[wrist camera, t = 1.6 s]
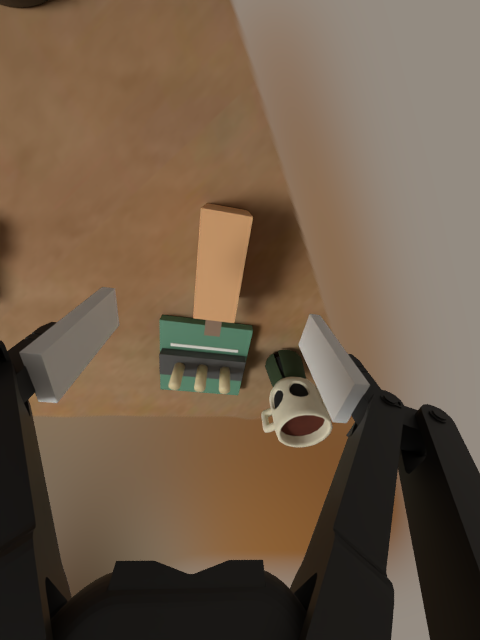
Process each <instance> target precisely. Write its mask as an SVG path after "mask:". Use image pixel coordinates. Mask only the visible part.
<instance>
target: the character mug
mask: <svg viewBox="0 0 480 640" xmlns="http://www.w3.org/2000/svg"><path fill="white" fill-rule="evenodd" d="M278 353H279V357H277V358H275V357H274V355H273V354H271V355H270V357H269V358H268V359H267V361H266V365H265V367H266V370H267V373H268V376H269V379H270V381H271V384H272V386H273V389H272V390H271V392H270V398H269V401H270V406H271V408H269V409H267V410H264V411H263V412H262V414H261V416H262V423H263V430H264V432H271V431H274V430H275V432H276V434H277V437H278V439H279V441H280V442H282V443H283V444H285V445H287V446H292V447H307V446H311V445H315V444H317V443H319V442H321V441H323V440H324V439H325V438H326V437H327V436H328V435H329V434H330V432H331V430H332V423H331V419H330V416H329V414H328V412H327V408H326V406H325V403H324V402H323V401H322V398H321V396H320V395H321V394H320V392H319V390H318V388H317V387H316V386H315V385H314V384H313V383H311V382H310V381H309V380H308V379H306V376H305V371H304V367H303V363H302V360H301V357H300V356H299V355H298V354H297V353H296V352H294V351H291V350H279V351H278ZM271 415H272V416H273V421H274V422H273V423H270V424H269V421H268V417H269V416H271Z"/></svg>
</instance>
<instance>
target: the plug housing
mask: <svg viewBox="0 0 480 640" xmlns="http://www.w3.org/2000/svg"><path fill="white" fill-rule="evenodd" d="M252 221H253V216H252V215H251V214H250V213H249V211H248V210H243V209H238V208H232V207H226V206H221V205H215V204H210V203H207V204H205V205H204V206H203V207H201V215H200V229H199V243H198V257H197V271H196V285H195V299H194V313H193V318H195V319H203V320H206V321H205V331H204V335H207V336H216V337H220V332H221V325H222V322H229V323H234V322H235V316H236V311H237V305H238V299H239V294H240V288H241V282H242V277H243V271H244V266H245V260H246V254H247V249H248V243H249V237H250V232H251V226H252Z"/></svg>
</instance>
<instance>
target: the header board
mask: <svg viewBox="0 0 480 640" xmlns="http://www.w3.org/2000/svg"><path fill="white" fill-rule="evenodd" d="M205 321H206V320H202V319H193V318H185V317H176V316H168V315H162V316H161V318H160V354H159V358H160V385H161V389H166V390H179V391H191V392H204V393H216V394H229V395H238V393H239V389H240V385H241V381H242V377H243V372H244V368H245V364H246V359H247V354H248V350H249V346H250V341H251V337H252V333H253V328H252V325H244V324H236V323H227V322H222V325H221V332H220V337H216V336H207V335H204V331H205Z"/></svg>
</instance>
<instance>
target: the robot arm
mask: <svg viewBox="0 0 480 640" xmlns="http://www.w3.org/2000/svg"><path fill="white" fill-rule="evenodd" d="M45 1H47V0H0V4H2V5H6V6H11V7H30V6H35V5H38V4H41V3H43V2H45ZM118 326H119V319H118V310H117V302H116V293H115V288H107V287H102V288H100V289H99V290H98V291H96V292H95V293H94V294H93V295H91V296H90V297H89V298H88V299H86V300H85V301H84V302H83V303H81V304H80V305H79V306H77V307H76V308H75V309H74V310H72V311H71V312H70V313H69V314H67V315H66V316H65V317H64V318H62V319H61V320H60V321H58V322H57V323H56V322H51V323H48V324H46V325H43V326H41V327H39V328H38V329H37V330H35V331H34V332H33V333H32V334H30V335H29V336H27V337H26V338H25V339H23V340H22V341H20V342H19V343H18V344H16V345H15V346H14V347H12V348H11V349H10V350H8V351H7V350H6V347H5V345H4V343H3V342H2V341H0V640H391V632H392V621H393V609H394V589H393V585H392V583H391V581H390V580H389V579H388V578H387V574H386V566H387V557H388V549H389V539H390V531H391V522H392V513H393V505H394V496H395V487H396V479H397V470H399V475H400V481H401V486H402V491H403V497H404V502H405V508H406V513H407V518H408V523H409V529H410V534H411V540H412V545H413V550H414V555H415V561H416V566H417V572H418V577H419V582H420V588H421V593H422V598H423V603H424V609H425V614H426V619H427V625H428V630H429V635H430V640H480V473H479V471H478V469H477V467H476V465H475V463H474V461H473V459H472V457H471V455H470V453H469V451H468V449H467V447H466V445H465V443H464V441H463V439H462V437H461V435H460V433H459V431H458V429H457V427H456V425H455V423H454V421H453V420H452V418H451V417H450V416H448V415H447V414H446V413H445V412H444V411H442V410H441V409H439V408H437V407H434V406H431V405H428V404H427V405H422V406H421V407H420V409H419V410H415V409H412V408H409V407H406V406H404V405H403V403H402V402H401V400H400V399H398V398H397V397H396V396H395V395H393V394H391V393H390V392H387V391H384V390H381V389H380V387H379V386H378V385H377V383H376V382H375V381H374V379H373V378H372V377H371V375H370V374H369V373H368V371H367V370H366V369H365V368H364V366H363V365H362V363H361V362H360V361H359V360H358V359H357V358H356V357H354V356H353V355H352V354H347V352H346V351H345V349H344V348H343V347H342V345H341V344H340V342H339V341H338V340H337V338H336V337H335V335H334V334H333V333H332V331H331V330H330V328H329V327H328V326H327V324H326V323H325V321H324V320H323V319H322V317H321V316H320V315H315V314H310V315H309V317H308V320H307V323H306V326H305V328H304V331H303V334H302V337H301V339H300V342H299V347H300V350H301V352H302V354H303V356H304V359H305V361H306V363H307V365H308V368H309V370H310V372H311V374H312V377H313V379H314V381H315V383H316V385H317V388H318V390H319V392H320V394H321V397H322V399H323V401H324V403H325V406H326V408H327V410H328V412H329V415H330V417H331V419H332V421H333V422H339V423H347V422H348V420H349V418H350V417H351V415H352V417H353V419H354V421H355V423H354V425H353V426H352V428H351V429H350V431H349V432H348V434H347V436H348V439H347V442H346V445H345V448H344V451H343V453H342V456H341V459H340V461H339V464H338V467H337V470H336V472H335V475H334V478H333V481H332V484H331V486H330V489H329V491H328V494H327V497H326V500H325V502H324V505H323V508H322V511H321V513H320V516H319V519H318V522H317V525H316V527H315V530H314V533H313V535H312V538H311V541H310V544H309V546H308V549H307V552H306V555H305V557H304V560H303V562H302V564H301V566H300V568H299V570H298V572H297V574H296V576H295V578H294V580H293V582H292V585H291V587H290V589H289V588H288V587H287V586H286V585H285V584H284V583H283V582H282V581H281V580H279V579H278V578H277V577H276V576H274V575H272V574H271V573H269V572H267V571H264V565H263V560H229V561H226V562H223V563H221V564H218V565H216V566H214V567H210V568H208V569H205V570H203V571H200V572H198V573H195V574H187V573H184V572H182V571H179V570H177V569H174V568H171V567H169V566H166V565H164V564H161V563H158V562H156V561H116V563H115V567H114V570H113V572H112V573H109V574H106V575H105V576H103V577H101V578H99V579H97V580H95V581H94V582H92V583H90V584H89V585H87V586H86V587H84V589H82V590H81V591H79V592H78V593H77V594H76V595H75V596H73V597H72V598H71V593H70V589H69V585H68V581H67V578H66V575H65V572H64V569H63V566H62V562H61V558H60V553H59V548H58V543H57V537H56V533H55V528H54V523H53V518H52V512H51V507H50V502H49V497H48V492H47V487H46V483H45V477H44V472H43V467H42V462H41V457H40V452H39V446H38V441H37V436H36V431H35V426H34V421H33V416H32V411H31V406H30V403H29V401H28V399H29V398H30V397H31V396H32V395H33V394H34V393H35V394H36V396H37V399H38V401H39V402H53V403H58V401H59V400H60V399H61V398H62V396H63V395H64V394H65V393H66V391H67V390H68V389H69V388H70V386H71V385H72V384H73V383H74V381H75V380H76V379H77V378H78V376H79V375H80V374H81V372H82V371H83V370H84V369H85V367H86V366H87V365H88V364H89V362H90V361H91V360H92V359H93V357H94V356H95V355H96V354H97V352H98V351H99V350H100V349H101V347H102V346H103V345H104V344H105V342H106V341H107V340H108V338H109V337H110V336H111V335H112V333H113V332H114V331H115V330H116V328H117V327H118Z"/></svg>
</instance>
